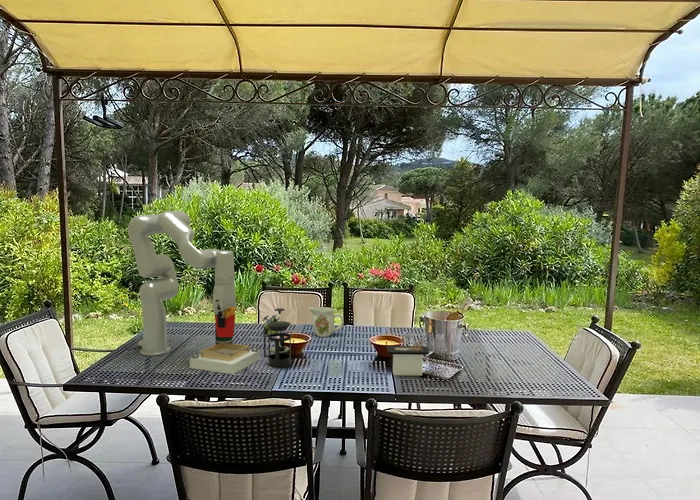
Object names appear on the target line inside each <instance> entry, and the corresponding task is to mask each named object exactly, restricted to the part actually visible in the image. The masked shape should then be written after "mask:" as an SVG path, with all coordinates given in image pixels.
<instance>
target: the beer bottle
mask: <svg viewBox="0 0 700 500" xmlns="http://www.w3.org/2000/svg"><path fill="white" fill-rule="evenodd" d="M214 329H215V330H214V331H215V332H214V334H215V335H214V336H215V338H214V339H215V345H216V344H218V343H220V342H225V343H232V344H234V343H233V336H232V337H218V336H217V331H216V323H215V328H214Z"/></svg>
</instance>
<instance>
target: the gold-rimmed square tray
mask: <svg viewBox="0 0 700 500" xmlns="http://www.w3.org/2000/svg"><path fill="white" fill-rule="evenodd" d="M232 343H233V342H232ZM232 343H225V342H220V343H218V344H216V343H215V344H214V345H211V346H209V347H206V348H204V349H202V350H200V353H199V354H198V353H194V354H191V357H189V368H190V369H194V370H200V371H206V372H207V371H208V372H215V373H221V374H226V375H227V374H228V375H235V374H236V373H239V372H240V371H242V370H243V369H246V368H248V367H249V366H251V365H252V364H254V363H257V362H259V361H260V360H261V350H259V347H252V348H251V347H250V345H246V344H239V343H233V344H232Z"/></svg>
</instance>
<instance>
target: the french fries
mask: <svg viewBox="0 0 700 500" xmlns="http://www.w3.org/2000/svg"><path fill="white" fill-rule="evenodd" d="M236 308H237V307H235V308H234V307H230V309H227V310H225V313H224V318H225V327H224V328H222V327H218V318H217V316H216V314H215V313H214V321H215V324H216V331H217V336H218V337H232V338H233V337H234V335H235V324H236V310H237V309H236ZM220 310H221V308H220ZM220 313H221V314H222V311H220Z"/></svg>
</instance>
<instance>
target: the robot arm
mask: <svg viewBox="0 0 700 500" xmlns="http://www.w3.org/2000/svg"><path fill="white" fill-rule="evenodd" d="M128 223H129V224H128V228H127V234H128V238H129V240H130V243H131V246H132V248H133V249H132V250H133V254H134V257H135V258H134V259H135V262H136V266H137V271H138V273H139V275H140V276H141V277H142V278H144V279H145V278H147V279H148V278H149V279H150V278H156V277H157V278H158V279H152V280H148V281H146V282H144V283H143V284H142V285H140V287H139V293H138V294H139V298H140V299H139V300H140V302H141V309H142V311H141V312H142V331H143V333H142V334H143V338H142V339H143V340H142V339H141V340H139V342H138V343H137V346H139V347H141V349H140V350H139V353H140V355H142V356H149V357H150V356H161V355H165V354H168V353H170V352H171V351H172V350H171V347H170V346H169V345H168V343H167V341H168V337H167V335H168V334H167V310H166V307H165V305H164V304H163V302H162V301H167V300H170V299H173V298H175V297H176V296H177V295H178V294H179V282H178V278H177V274H176V269H175V265H174V262H173V260H172V259H171V257H170V256H169V255H167V254H163V253H162V254H160V253H159V254H157V253H156V249H155V245H154V242H153V241H152V239H151V238H150V237H149V236H148V235H159V234H162V235H163V234H166V235H167V236H168V237H169V238H171V240H173V241H174V242H175V244H177V248H178V252H179V255H180V257H181V258H182V260H184V261H185V262H186V263H187V264H188V265H189V266H190V267H192V268H193V269H195V270H206V269H211V268H214V286H213V292H212V309H213V311H212V312H213V313H214V315H215V314H216V316H217V318H218V327H222V328H224V327H225V318H224V313H225V310H227V309H230V307H234V308H237V307H236V306H237V302H236V301H237V298H236V295H237V294H236V288H235V287H236V286H235V259H234V258H235V256H234V255H235V254H234V252H233V251H232V250H220V249H215V248H209V249H201V250H200V249H198V248H196V247H195V245H193V244H192V241H193V239H194V238H195V230H194V229H193V228H191V227H190V226H191V219H190V217H189V215H188V214H187V213H186V212H185V211H181V210H166V211H163V212H161V213H160V214H141V215H136V216H134V217H133V218H132V219H130V221H129V222H128ZM220 308H221V310H220ZM220 311H222V314H221V313H220Z"/></svg>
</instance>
